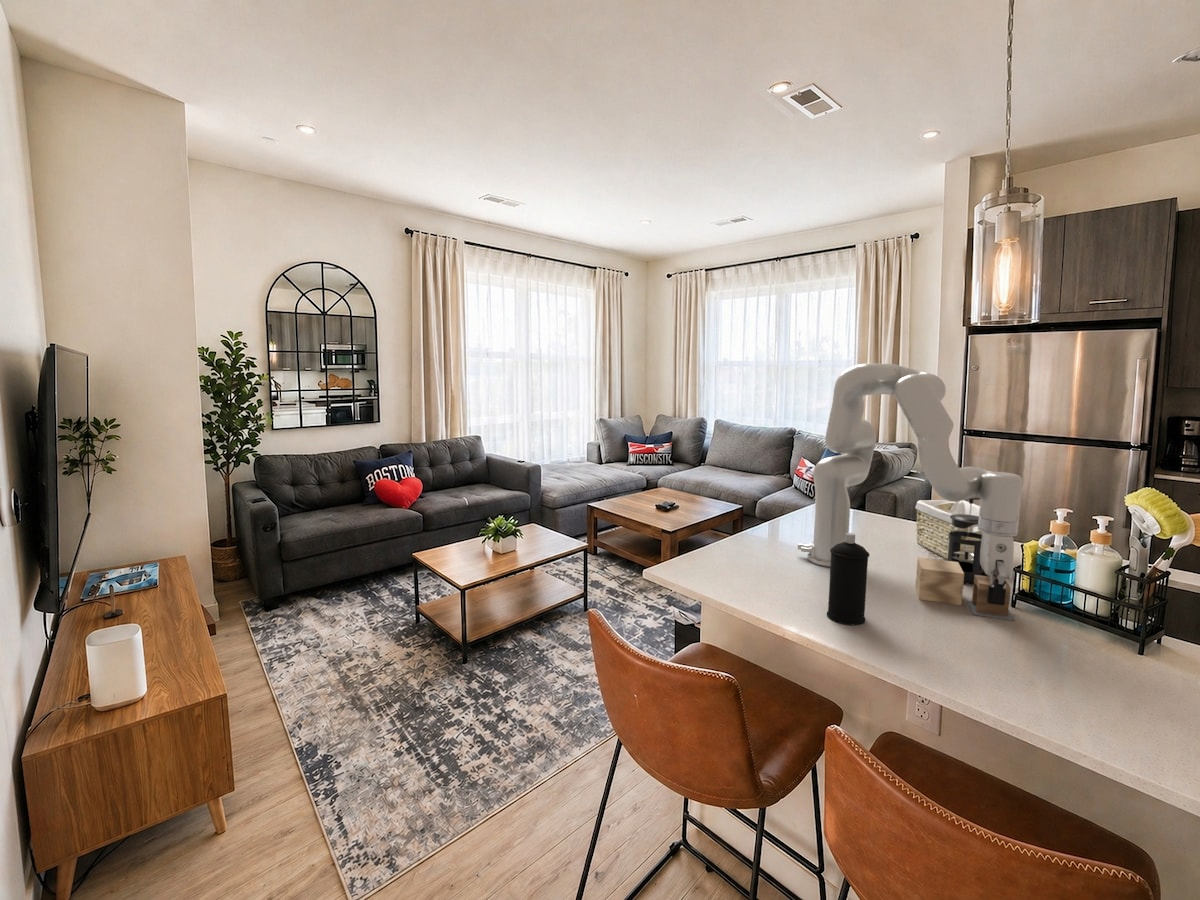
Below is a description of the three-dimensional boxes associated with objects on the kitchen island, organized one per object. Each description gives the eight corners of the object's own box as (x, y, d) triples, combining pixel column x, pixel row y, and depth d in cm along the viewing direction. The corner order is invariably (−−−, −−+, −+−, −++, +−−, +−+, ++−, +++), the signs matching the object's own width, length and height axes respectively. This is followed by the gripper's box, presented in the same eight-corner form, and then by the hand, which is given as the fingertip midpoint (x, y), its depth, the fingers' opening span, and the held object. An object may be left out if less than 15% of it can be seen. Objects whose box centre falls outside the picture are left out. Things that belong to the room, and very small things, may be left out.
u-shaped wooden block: (1007, 616, 127) (1010, 587, 126) (976, 611, 130) (979, 583, 129) (1001, 606, 132) (1004, 578, 131) (972, 602, 135) (974, 574, 134)
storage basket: (910, 542, 184) (913, 498, 182) (960, 542, 183) (963, 498, 181) (954, 567, 160) (959, 518, 158) (1011, 567, 160) (1016, 517, 158)
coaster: (972, 614, 129) (972, 613, 129) (966, 601, 136) (966, 600, 136) (1014, 620, 126) (1014, 619, 126) (1005, 607, 133) (1006, 605, 133)
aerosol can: (862, 628, 122) (868, 541, 120) (823, 620, 127) (827, 535, 124) (867, 614, 129) (872, 532, 127) (829, 607, 134) (834, 527, 131)
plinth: (918, 599, 138) (921, 568, 137) (915, 586, 146) (917, 557, 145) (961, 605, 134) (964, 573, 133) (955, 591, 142) (958, 562, 141)
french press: (995, 585, 146) (1003, 500, 143) (958, 585, 146) (966, 500, 143) (967, 569, 158) (974, 491, 154) (933, 569, 158) (940, 491, 155)
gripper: (1027, 537, 119) (1020, 613, 121) (1008, 518, 134) (1001, 585, 137) (986, 533, 122) (979, 607, 124) (971, 515, 137) (965, 581, 140)
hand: (990, 596), depth 130 cm, fingers open, 9 cm apart
